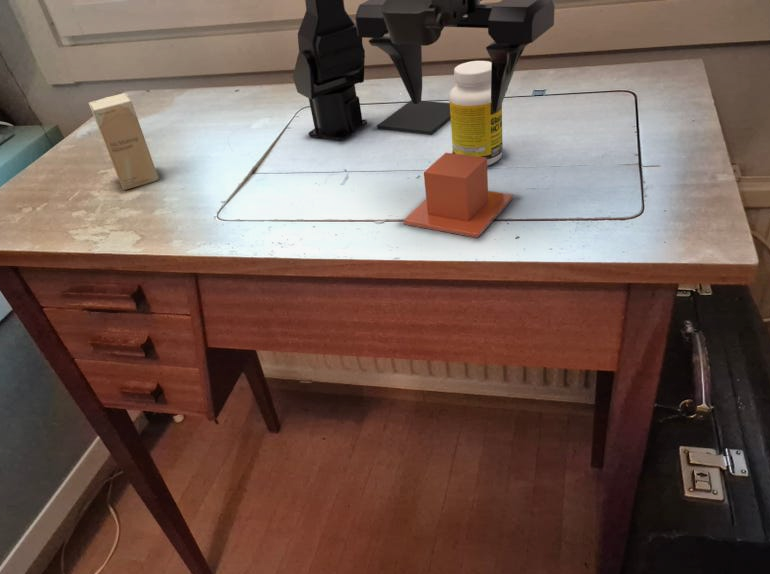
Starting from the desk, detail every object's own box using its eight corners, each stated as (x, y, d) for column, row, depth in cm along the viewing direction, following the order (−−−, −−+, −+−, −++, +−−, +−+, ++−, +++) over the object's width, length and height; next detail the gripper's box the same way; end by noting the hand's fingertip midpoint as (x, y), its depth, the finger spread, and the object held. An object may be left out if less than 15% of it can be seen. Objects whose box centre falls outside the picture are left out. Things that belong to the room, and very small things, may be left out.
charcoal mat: (377, 128, 95) (376, 125, 94) (412, 103, 101) (411, 99, 100) (431, 134, 90) (431, 131, 90) (464, 107, 96) (464, 104, 96)
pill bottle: (501, 168, 80) (499, 74, 73) (450, 169, 81) (443, 78, 74) (504, 146, 84) (503, 56, 77) (456, 148, 86) (451, 60, 79)
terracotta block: (427, 214, 73) (423, 172, 69) (448, 194, 76) (445, 152, 72) (468, 221, 70) (465, 178, 67) (488, 200, 73) (487, 157, 70)
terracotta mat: (403, 224, 73) (403, 220, 72) (442, 187, 78) (442, 183, 78) (477, 238, 68) (477, 233, 68) (513, 198, 74) (513, 194, 73)
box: (124, 191, 90) (90, 110, 83) (119, 180, 93) (85, 102, 86) (161, 179, 91) (131, 99, 84) (155, 169, 94) (125, 90, 87)
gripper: (307, -46, 58) (338, 128, 68) (503, -52, 49) (505, 149, 59) (376, -73, 64) (395, 89, 74) (560, -83, 55) (553, 103, 65)
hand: (455, 106), depth 68 cm, fingers open, 9 cm apart
